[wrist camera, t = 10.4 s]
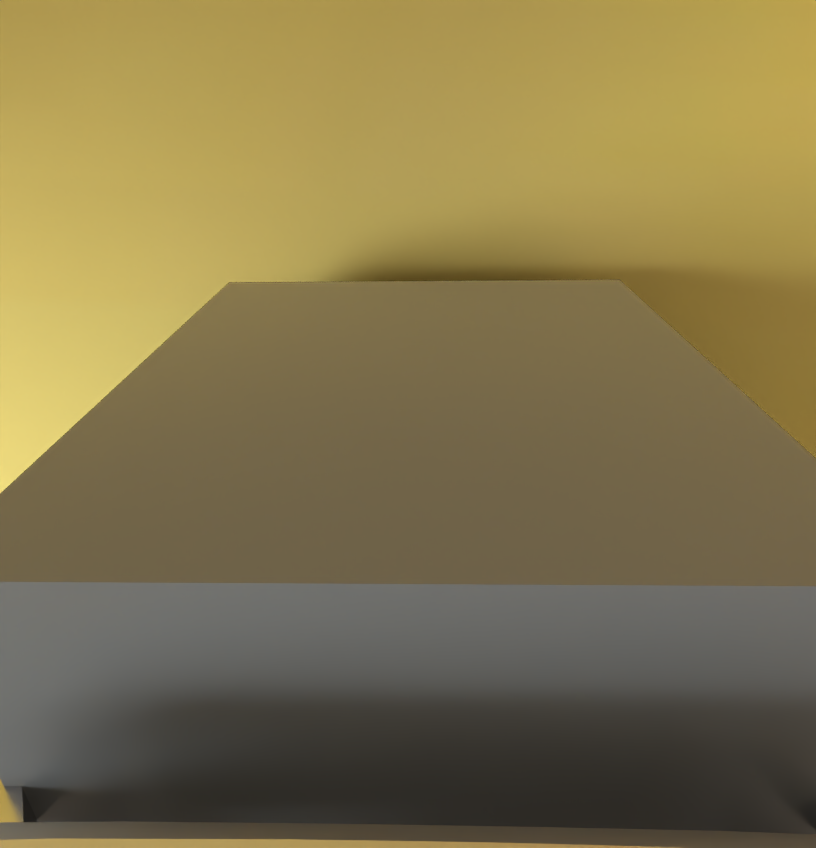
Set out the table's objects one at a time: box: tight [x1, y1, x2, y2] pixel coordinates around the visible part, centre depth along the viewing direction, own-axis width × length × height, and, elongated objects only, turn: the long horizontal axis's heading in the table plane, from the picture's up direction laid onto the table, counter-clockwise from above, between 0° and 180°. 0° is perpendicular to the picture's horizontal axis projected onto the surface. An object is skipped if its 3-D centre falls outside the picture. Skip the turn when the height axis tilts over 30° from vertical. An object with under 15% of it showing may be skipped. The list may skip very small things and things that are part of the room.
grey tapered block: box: [0, 280, 816, 834], centre depth 10 cm, size 8×8×9 cm
